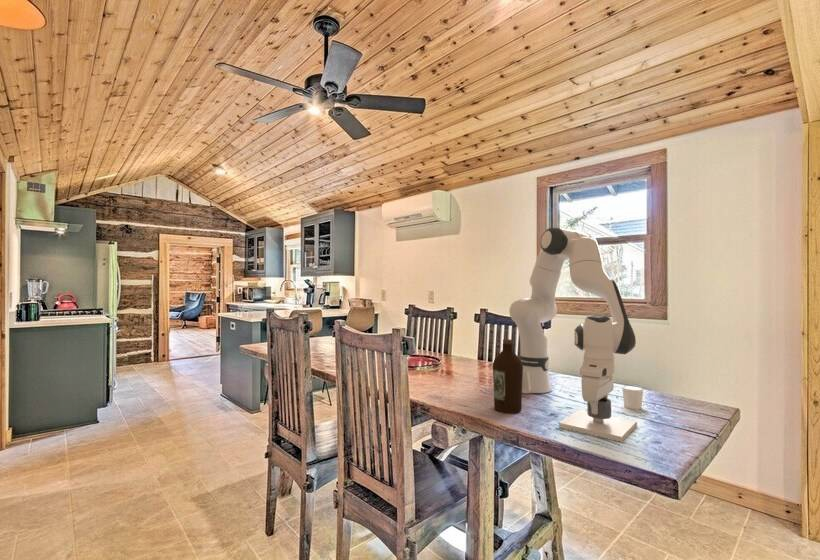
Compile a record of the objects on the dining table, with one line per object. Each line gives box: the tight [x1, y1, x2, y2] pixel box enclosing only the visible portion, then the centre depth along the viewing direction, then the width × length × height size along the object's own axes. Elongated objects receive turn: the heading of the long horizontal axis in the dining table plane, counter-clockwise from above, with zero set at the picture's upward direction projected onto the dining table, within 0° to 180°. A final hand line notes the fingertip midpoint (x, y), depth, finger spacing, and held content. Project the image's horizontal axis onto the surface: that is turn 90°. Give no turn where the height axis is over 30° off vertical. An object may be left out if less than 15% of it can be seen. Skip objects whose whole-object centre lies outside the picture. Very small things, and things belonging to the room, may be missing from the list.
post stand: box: [558, 409, 638, 443], centre depth 129 cm, size 18×18×6 cm
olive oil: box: [492, 338, 523, 414], centre depth 147 cm, size 11×11×25 cm
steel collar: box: [586, 398, 612, 419], centre depth 129 cm, size 7×7×5 cm
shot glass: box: [621, 385, 644, 410], centre depth 150 cm, size 7×7×7 cm
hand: (599, 410), depth 129 cm, fingers closed on steel collar, 7 cm apart
